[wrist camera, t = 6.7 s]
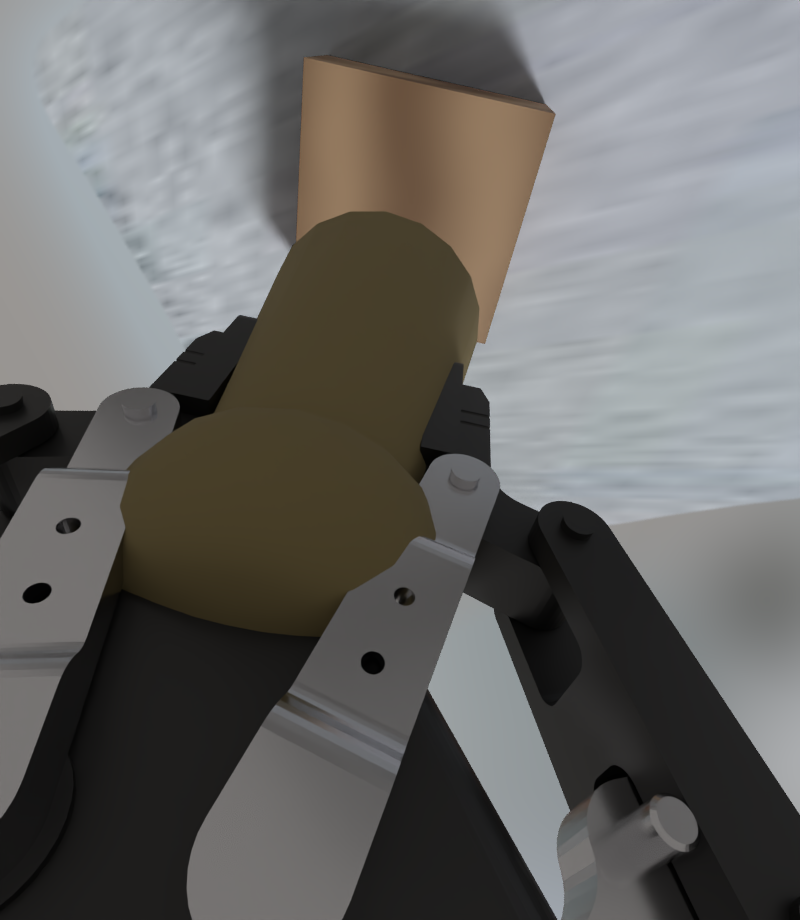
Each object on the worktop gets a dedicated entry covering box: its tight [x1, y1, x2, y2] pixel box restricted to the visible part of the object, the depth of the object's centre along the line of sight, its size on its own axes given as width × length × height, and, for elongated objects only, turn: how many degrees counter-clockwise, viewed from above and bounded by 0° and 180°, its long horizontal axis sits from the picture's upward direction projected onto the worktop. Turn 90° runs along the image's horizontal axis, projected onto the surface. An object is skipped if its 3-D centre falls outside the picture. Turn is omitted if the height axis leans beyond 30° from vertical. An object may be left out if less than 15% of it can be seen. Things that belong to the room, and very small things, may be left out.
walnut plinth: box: [296, 55, 555, 344], centre depth 25 cm, size 10×10×4 cm
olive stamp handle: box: [120, 211, 479, 637], centre depth 11 cm, size 6×6×11 cm
